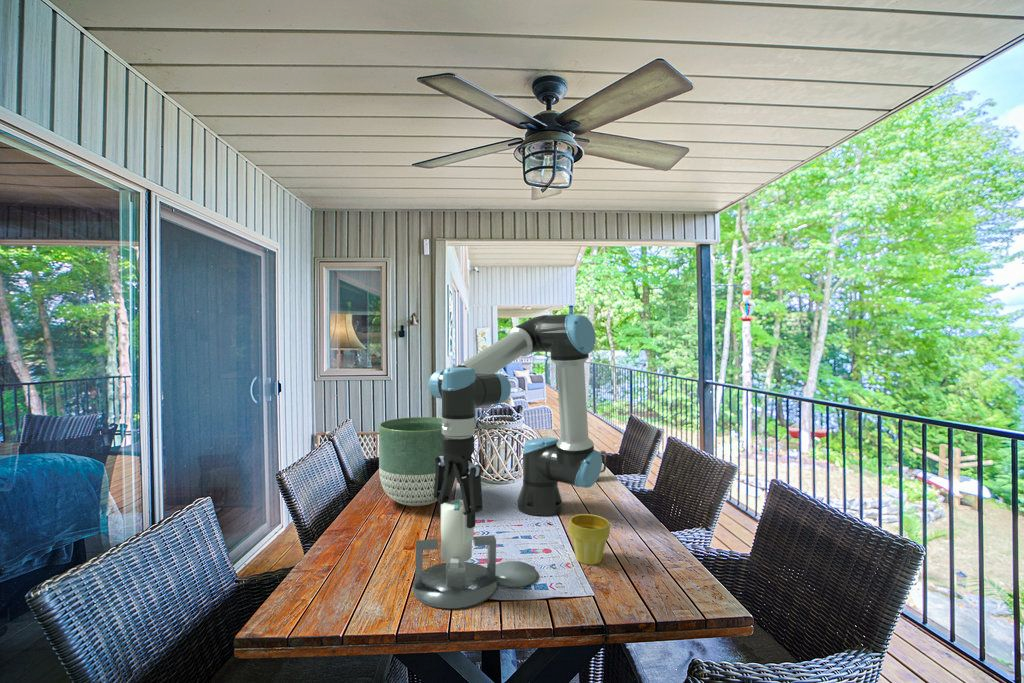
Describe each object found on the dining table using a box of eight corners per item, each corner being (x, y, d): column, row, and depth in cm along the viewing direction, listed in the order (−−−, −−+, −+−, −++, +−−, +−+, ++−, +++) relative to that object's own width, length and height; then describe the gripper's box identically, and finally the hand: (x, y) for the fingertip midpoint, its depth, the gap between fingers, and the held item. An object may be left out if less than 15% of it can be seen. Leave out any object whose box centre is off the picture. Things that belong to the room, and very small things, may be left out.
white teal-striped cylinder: (443, 544, 111) (444, 495, 111) (472, 544, 111) (473, 495, 111) (437, 568, 99) (438, 513, 99) (470, 568, 100) (471, 513, 99)
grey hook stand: (489, 562, 116) (490, 521, 116) (504, 604, 98) (505, 556, 98) (413, 568, 112) (413, 526, 112) (412, 613, 94) (413, 563, 94)
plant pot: (611, 553, 122) (612, 516, 122) (606, 571, 112) (607, 531, 112) (573, 547, 126) (573, 511, 126) (564, 564, 116) (565, 525, 116)
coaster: (530, 562, 116) (530, 559, 116) (541, 585, 106) (542, 581, 106) (487, 566, 114) (487, 562, 114) (494, 589, 103) (494, 586, 103)
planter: (360, 509, 151) (362, 426, 151) (407, 485, 175) (408, 414, 175) (431, 522, 141) (432, 434, 141) (470, 495, 166) (471, 420, 166)
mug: (581, 481, 184) (582, 451, 184) (580, 476, 191) (580, 447, 191) (607, 482, 183) (607, 452, 183) (605, 477, 190) (605, 448, 190)
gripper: (418, 431, 109) (417, 528, 109) (475, 445, 95) (474, 555, 96) (443, 427, 114) (442, 519, 115) (500, 440, 101) (499, 544, 101)
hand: (456, 535), depth 105 cm, fingers closed on white teal-striped cylinder, 7 cm apart
